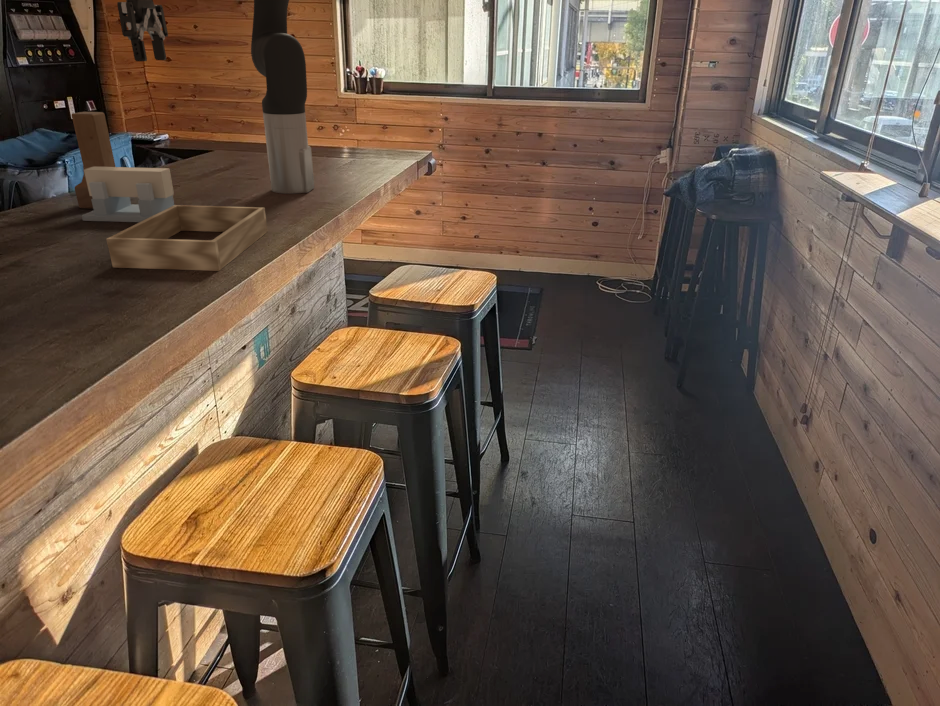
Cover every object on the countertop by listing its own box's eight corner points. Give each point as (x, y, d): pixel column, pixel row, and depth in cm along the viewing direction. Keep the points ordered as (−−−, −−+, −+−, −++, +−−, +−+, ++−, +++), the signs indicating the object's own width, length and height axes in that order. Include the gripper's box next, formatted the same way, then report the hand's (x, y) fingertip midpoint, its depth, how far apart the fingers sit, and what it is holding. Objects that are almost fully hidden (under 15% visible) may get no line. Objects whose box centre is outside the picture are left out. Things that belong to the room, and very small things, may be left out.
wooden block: (99, 209, 133) (78, 116, 125) (78, 208, 133) (55, 115, 125) (123, 199, 141) (104, 111, 133) (103, 199, 141) (83, 111, 133)
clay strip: (174, 194, 128) (169, 168, 126) (165, 198, 125) (160, 171, 123) (99, 192, 129) (94, 166, 127) (89, 196, 126) (83, 169, 123)
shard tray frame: (267, 231, 119) (264, 207, 117) (219, 270, 99) (214, 242, 97) (179, 229, 120) (174, 205, 118) (112, 267, 100) (106, 238, 98)
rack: (187, 210, 133) (181, 175, 130) (164, 222, 124) (157, 185, 121) (111, 208, 133) (103, 173, 130) (82, 220, 124) (73, 183, 121)
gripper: (134, -34, 120) (153, 62, 127) (169, -27, 133) (184, 59, 140) (95, -34, 120) (115, 61, 127) (133, -28, 133) (149, 59, 140)
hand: (151, 60), depth 134 cm, fingers open, 8 cm apart
